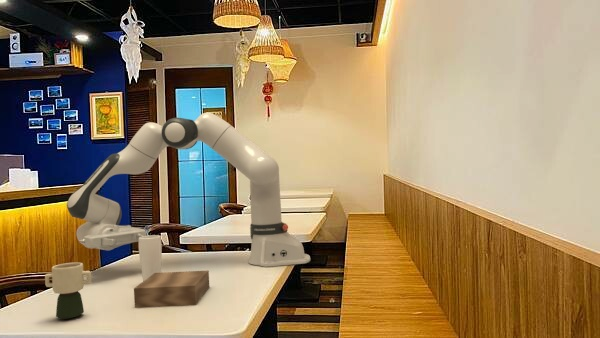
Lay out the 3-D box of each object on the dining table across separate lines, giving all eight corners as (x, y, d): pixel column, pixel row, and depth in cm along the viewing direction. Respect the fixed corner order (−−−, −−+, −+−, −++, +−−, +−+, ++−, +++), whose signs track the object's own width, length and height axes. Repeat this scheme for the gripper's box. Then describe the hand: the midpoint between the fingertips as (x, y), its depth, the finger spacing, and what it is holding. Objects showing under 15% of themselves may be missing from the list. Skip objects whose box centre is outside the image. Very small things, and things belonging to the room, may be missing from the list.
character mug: (97, 311, 126) (94, 260, 126) (88, 319, 119) (85, 266, 119) (52, 314, 124) (50, 263, 124) (41, 323, 117) (38, 269, 117)
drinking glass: (156, 287, 147) (154, 238, 147) (136, 287, 149) (133, 238, 149) (167, 282, 154) (164, 234, 154) (147, 282, 155) (145, 235, 155)
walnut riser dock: (209, 287, 145) (208, 270, 145) (195, 304, 127) (194, 285, 127) (155, 289, 145) (155, 272, 145) (134, 307, 127) (133, 288, 127)
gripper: (76, 231, 160) (96, 234, 151) (133, 224, 176) (154, 226, 167) (77, 250, 160) (97, 254, 151) (133, 242, 176) (155, 245, 167)
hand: (128, 240), depth 159 cm, fingers open, 8 cm apart
